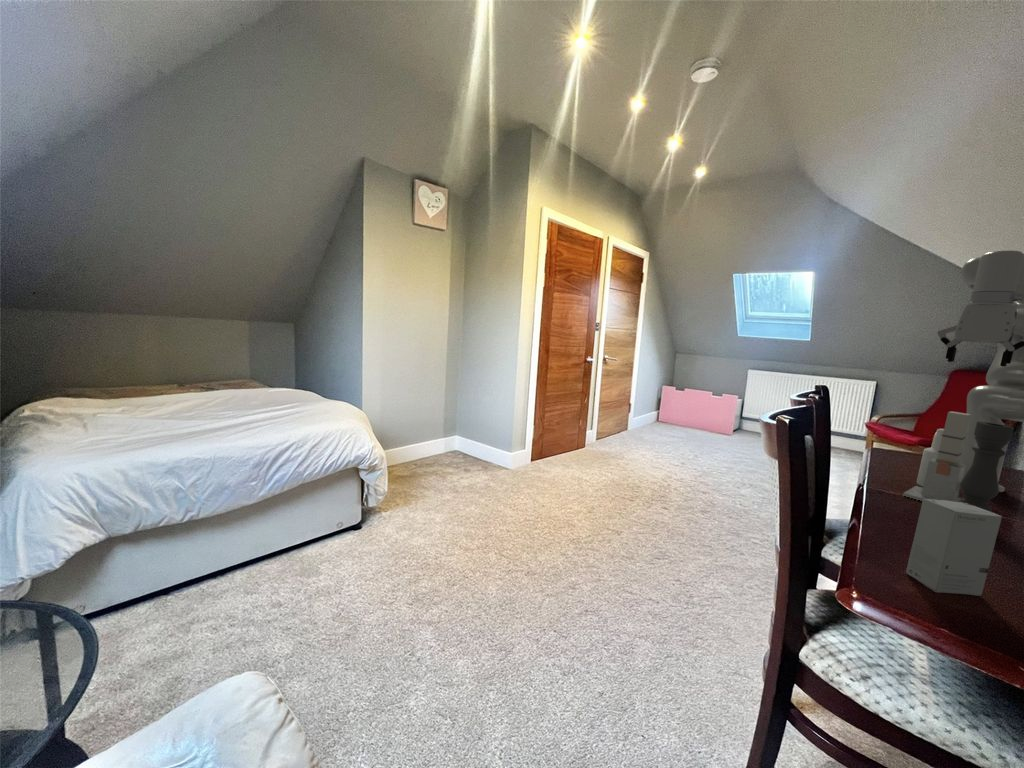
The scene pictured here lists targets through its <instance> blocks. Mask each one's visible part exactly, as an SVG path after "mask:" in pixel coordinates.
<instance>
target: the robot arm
mask: <svg viewBox="0 0 1024 768" xmlns="http://www.w3.org/2000/svg"><path fill="white" fill-rule="evenodd" d="M960 273H961V280H962V282H963V284H964V285H965V286H966V287H968V289H971V290H972V293H971V297H970V301H969V304H966V305H965V306H964V308H963V310H962V311H961V314H960V316H959V320H958V322H957V324H956V325H954V326H950V327H947V328H944V329H941V330H938V331H937V335H938V337H939V339H940V342H942V343H943V344H944V345H945V346H946V347H947V350H946V355H945V359H947V362H948V363H953V362H955V358H956V354H957V350H958V349H957V347H956V346H957V345H959V344H961V343H962V342H968V343H969V342H970V343H986V344H987V343H988V344H997V352H996V354H995V356H994V358H993V361H992V362H991V365H990V366H989V368H988V370H987V372H986V375H985V382H986V383H987V385H977V386H975V387H973V388H972V389H970V390H969V392H968V393H967V396H966V414H971V415H970V419H969V423H968V427H967V431H966V435H965V437H966V438H965V439H964V443H963V447H962V452H961V453H962V454H961V456H960V460H959V461H960V462H959V464H964V465H966V466H965V470H964V474H963V478H964V476H965V475H966V473H967V472H968V470H969V469H970V467H971V466H972V463H973V459H974V455H975V452H974V450H973V449H972V447H973V446H976V445H977V442H976V440H975V435H974V432H975V428H976V423H977V422H988V423H996V424H1002V425H1006V424H1005V423H1004V422H1003V421H1002V420H1008V421H1015V422H1022V423H1024V307H1023V308H1018V306H1017V305H1021V306H1024V252H1022V251H1019V250H995V251H990V252H986V253H984V254H982V256H980V257H979V256H978V257H973V258H971V259H969V260H967V261H966V262H965V263H964V265H963V266H962V269H961V272H960ZM1014 304H1015V305H1014ZM952 332H953V333H954V338H953V339H952V340H950V338H948V337H947V335H948V334H949V333H952ZM1009 442H1010V441H1008V444H1007V445H1005V446H1004V447H1003V448H1002V450H1003V451H1004V452H1005V453H1007V450H1008V446H1009ZM1005 457H1006V454H1005V455H1004V456H1001V457H1000V458H999V462H998V466H997V478H998V482H999V481H1000V476H1001V473H1002V469H1003V466H1004V462H1005ZM963 478H962V480H963ZM998 488H999V492H998V493H1003V492H1005V489H1006V488H1005V487H1004V486H1003V485H1001V484H999V483H998Z"/></svg>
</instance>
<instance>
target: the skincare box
mask: <svg viewBox="0 0 1024 768" xmlns="http://www.w3.org/2000/svg"><path fill="white" fill-rule="evenodd" d="M1002 518H1003V516H1002V515H999V514H997V513H995V512H993V511H992V512H990V511H987V510H984V509H981V508H979V507H976V506H973V505H971V504H968V503H961V502H952V501H947V500H933V499H923V501H922V502H921V507H920V511H919V516H918V519H917V523H916V528H915V531H914V537H913V539H912V540H913V541H912V545H911V549H910V553H909V558H908V562H907V565H906V566H907V567H906V570H905V573H906V574H907V575H909V576H910V577H912V578H913V579H915V580H916V581H917V582H919V583H921V584H922V585H923V586H925V587H926V588H928V589H930V591H933V592H934V593H939V594H940V593H941V594H957V595H959V594H960V595H970V596H977V597H979V596H982V594H983V593H984V592H983V591H984V587H985V583H986V580H987V576H988V572H989V568H990V565H991V560H992V558H993V557H992V556H993V553H994V549H995V544H996V542H997V541H996V540H997V537H998V533H999V530H1000V525H1001V521H1002Z"/></svg>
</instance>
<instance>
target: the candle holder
mask: <svg viewBox="0 0 1024 768" xmlns="http://www.w3.org/2000/svg"><path fill="white" fill-rule="evenodd" d="M1014 428H1015V427H1014V426H1012V425H1011V426H1010V425H1007V424H1005V425H1002V424H996V423H988V422H977V423H976V428H975V432H974V435H975V440H976V442H977V445H976V446H973V447H972V449H973V450H974V452H975V455H974V459H973V463H972V466H971V467H970V469H969V470H968V472H967V473H966V475H965V476H964V478H963V480H962V481H961V483H960V490H961V492H962V493H963V494H962V496H963V497H961V498H962V499H961V500H959V501H957V502H961V503H968V504H971V505H973V506H976V507H979V508H981V509H984V510H987V511H990V512H992V513H993V508H991V506H990V505H989V503H990V502H991V500H993V499H994V498H996V497H997V496H998V495H999V493H1000V492H999V488H998V484H999V481H998V478H997V466H998V462H999V458H1000V457H1001V456H1004V455H1005V456H1006V453H1007V452H1006V453H1005V452H1004V451H1003V450H1002V448H1003V447H1004V446H1005V445H1007V444H1008V445H1009V443H1008V441H1009V442H1011V441H1012V440H1011V439H1012V436H1013V433H1014V430H1015V429H1014Z"/></svg>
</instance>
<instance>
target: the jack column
mask: <svg viewBox="0 0 1024 768" xmlns="http://www.w3.org/2000/svg"><path fill="white" fill-rule="evenodd" d="M970 415H971V414H967V412H965V413H964V412H959V411H948V412H947V415H946V420H945V424H944V428H943V429H944V432H943V434H942V440H941V445H940V449H939V450H938V452H939V453H938V457H937V459H936V461H937V462H939V461H940V460H941V461H945V462H949V463H950V465H952V466H956V467H957V466H958V464H959V462H960V461H959V460H960V456H961V454H962V453H961V452H962V447H963V443H964V439H965V438H966V437H965V435H966V431H967V427H968V423H969V419H970Z"/></svg>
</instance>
